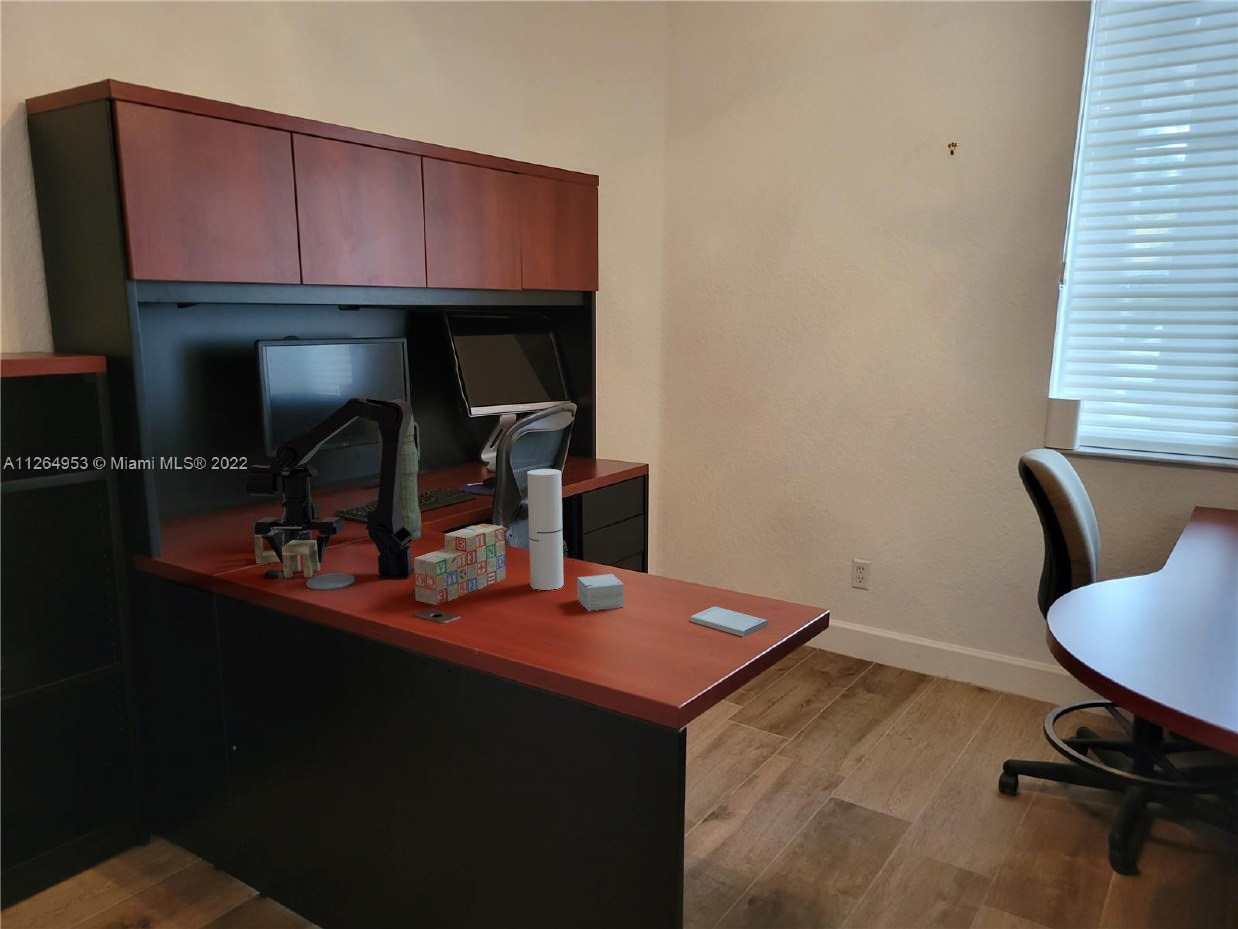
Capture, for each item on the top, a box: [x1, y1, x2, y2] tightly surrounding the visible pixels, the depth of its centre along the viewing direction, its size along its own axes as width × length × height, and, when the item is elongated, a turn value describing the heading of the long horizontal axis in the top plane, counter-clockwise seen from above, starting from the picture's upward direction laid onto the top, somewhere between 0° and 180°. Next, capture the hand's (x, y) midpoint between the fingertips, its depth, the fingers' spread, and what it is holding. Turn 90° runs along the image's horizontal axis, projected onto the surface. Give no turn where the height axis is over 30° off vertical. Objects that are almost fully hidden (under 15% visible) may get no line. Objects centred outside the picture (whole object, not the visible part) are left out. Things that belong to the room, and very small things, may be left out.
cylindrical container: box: [526, 468, 564, 591], centre depth 189 cm, size 7×7×25 cm
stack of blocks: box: [413, 523, 507, 606], centre depth 189 cm, size 21×6×12 cm, turn 147°
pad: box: [306, 572, 355, 591], centre depth 195 cm, size 10×10×1 cm
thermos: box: [377, 413, 422, 541], centre depth 231 cm, size 9×12×35 cm
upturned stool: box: [253, 534, 284, 565], centre depth 213 cm, size 6×6×7 cm
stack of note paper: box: [576, 573, 625, 612], centre depth 179 cm, size 8×8×5 cm
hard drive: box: [689, 606, 770, 637], centre depth 168 cm, size 2×8×12 cm
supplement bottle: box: [281, 512, 313, 546], centre depth 224 cm, size 7×7×12 cm
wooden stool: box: [282, 540, 321, 578], centre depth 202 cm, size 6×6×7 cm
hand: (301, 562), depth 202 cm, fingers open, 8 cm apart
